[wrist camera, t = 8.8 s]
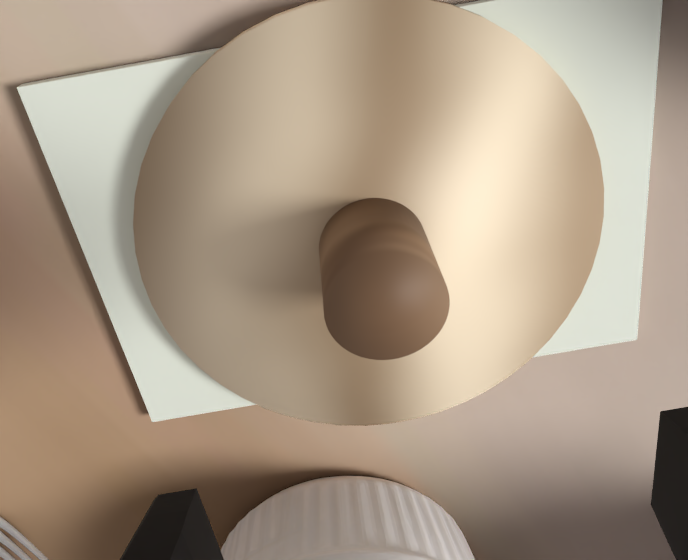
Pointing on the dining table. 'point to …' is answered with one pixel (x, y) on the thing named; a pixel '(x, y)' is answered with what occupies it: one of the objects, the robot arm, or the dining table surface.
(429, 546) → the ramekin
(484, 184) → the lid
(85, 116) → the mat
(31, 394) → the dining table surface
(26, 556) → the fork
